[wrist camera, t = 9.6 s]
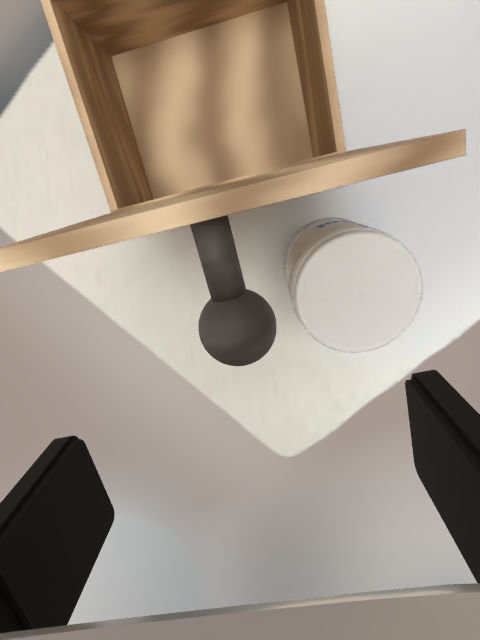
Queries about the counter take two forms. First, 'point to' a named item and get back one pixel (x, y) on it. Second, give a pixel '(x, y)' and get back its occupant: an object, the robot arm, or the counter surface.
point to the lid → (216, 236)
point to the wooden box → (197, 90)
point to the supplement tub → (352, 284)
